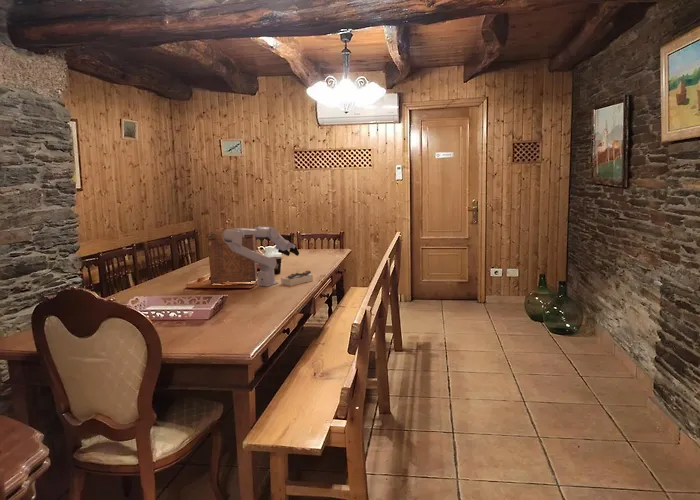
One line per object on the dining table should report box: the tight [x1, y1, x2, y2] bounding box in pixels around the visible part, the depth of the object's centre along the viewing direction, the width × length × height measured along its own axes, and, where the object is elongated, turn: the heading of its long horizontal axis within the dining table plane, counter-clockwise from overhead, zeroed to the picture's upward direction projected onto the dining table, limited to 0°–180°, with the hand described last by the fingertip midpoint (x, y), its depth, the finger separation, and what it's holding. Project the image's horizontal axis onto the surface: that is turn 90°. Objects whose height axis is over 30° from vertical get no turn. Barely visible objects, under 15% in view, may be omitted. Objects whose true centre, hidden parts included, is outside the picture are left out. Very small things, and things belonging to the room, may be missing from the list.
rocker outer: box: [301, 270, 311, 275], centre depth 298 cm, size 4×3×1 cm
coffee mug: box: [268, 256, 282, 276], centre depth 322 cm, size 12×9×10 cm
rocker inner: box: [287, 273, 296, 279], centre depth 290 cm, size 4×3×1 cm
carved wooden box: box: [207, 230, 258, 284], centre depth 295 cm, size 25×9×30 cm, turn 92°
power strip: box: [280, 273, 314, 287], centre depth 295 cm, size 17×8×4 cm, turn 137°
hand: (293, 254), depth 305 cm, fingers open, 7 cm apart
